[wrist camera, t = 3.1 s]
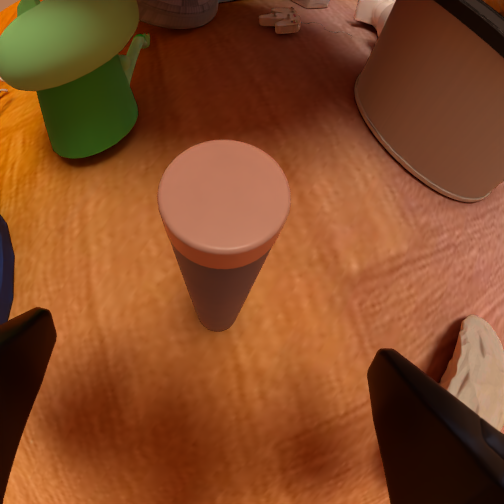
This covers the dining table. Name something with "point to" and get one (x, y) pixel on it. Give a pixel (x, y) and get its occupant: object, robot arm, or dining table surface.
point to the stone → (478, 371)
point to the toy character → (76, 68)
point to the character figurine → (374, 12)
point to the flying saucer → (177, 12)
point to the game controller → (283, 20)
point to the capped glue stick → (222, 222)
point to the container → (439, 94)
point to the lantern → (5, 272)
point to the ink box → (312, 3)
